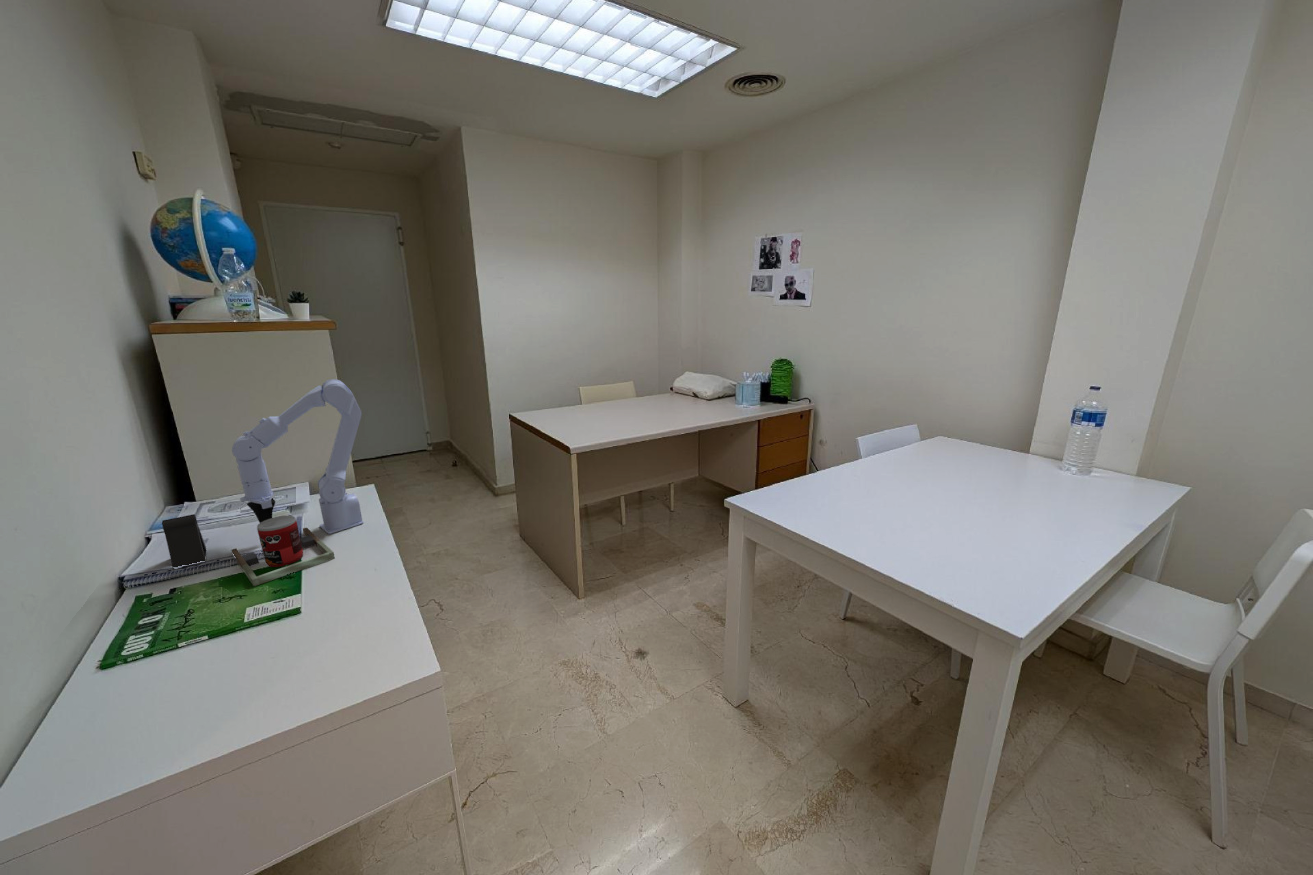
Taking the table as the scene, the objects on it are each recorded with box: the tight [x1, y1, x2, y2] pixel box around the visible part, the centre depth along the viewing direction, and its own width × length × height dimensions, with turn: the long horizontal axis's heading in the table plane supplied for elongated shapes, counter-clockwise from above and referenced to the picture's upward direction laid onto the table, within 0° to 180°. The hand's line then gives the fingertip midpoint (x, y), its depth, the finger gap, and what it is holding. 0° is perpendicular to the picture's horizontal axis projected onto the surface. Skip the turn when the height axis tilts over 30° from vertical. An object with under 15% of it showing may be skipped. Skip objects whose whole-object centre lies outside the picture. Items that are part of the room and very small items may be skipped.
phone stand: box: [161, 513, 207, 568], centre depth 124 cm, size 9×6×12 cm, turn 40°
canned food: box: [256, 515, 304, 568], centre depth 124 cm, size 8×8×11 cm
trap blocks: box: [241, 535, 316, 567], centre depth 129 cm, size 15×4×2 cm, turn 141°
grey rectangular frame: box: [231, 527, 336, 587], centre depth 127 cm, size 17×22×2 cm
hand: (266, 524), depth 134 cm, fingers closed
